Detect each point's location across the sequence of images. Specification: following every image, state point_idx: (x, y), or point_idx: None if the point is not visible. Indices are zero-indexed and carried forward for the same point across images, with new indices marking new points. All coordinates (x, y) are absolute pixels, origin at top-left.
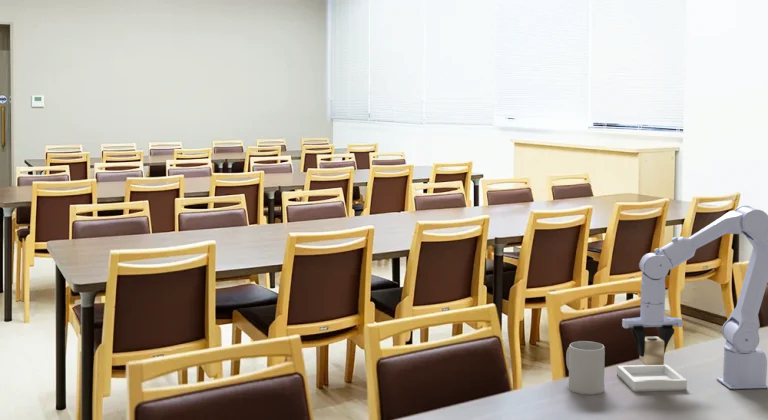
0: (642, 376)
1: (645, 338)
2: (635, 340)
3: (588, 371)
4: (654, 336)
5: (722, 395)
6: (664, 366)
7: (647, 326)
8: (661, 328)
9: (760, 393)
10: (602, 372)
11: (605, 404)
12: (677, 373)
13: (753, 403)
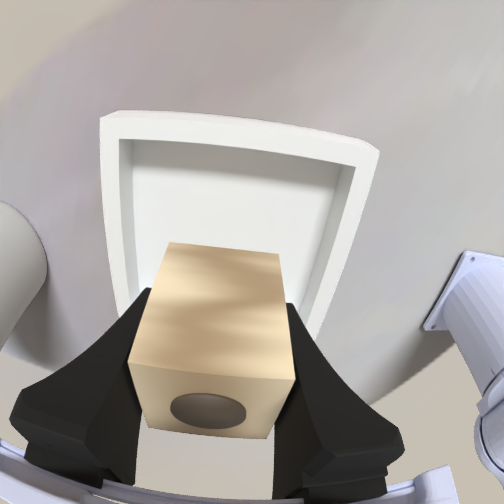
0: (215, 176)
1: (162, 394)
2: (96, 344)
3: None
4: (264, 379)
5: (370, 354)
6: (354, 166)
7: (156, 498)
8: (292, 483)
9: (450, 346)
10: (14, 326)
11: (53, 344)
12: (335, 281)
13: (385, 387)
